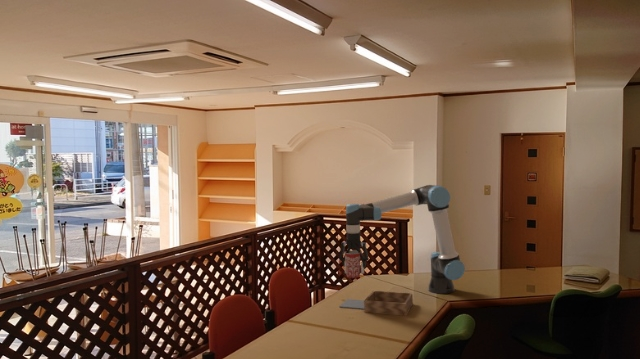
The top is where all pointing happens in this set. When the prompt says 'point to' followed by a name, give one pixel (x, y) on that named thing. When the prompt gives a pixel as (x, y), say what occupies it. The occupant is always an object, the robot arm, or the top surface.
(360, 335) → the top surface
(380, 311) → the crate
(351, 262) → the mug
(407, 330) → the top surface
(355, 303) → the mat
